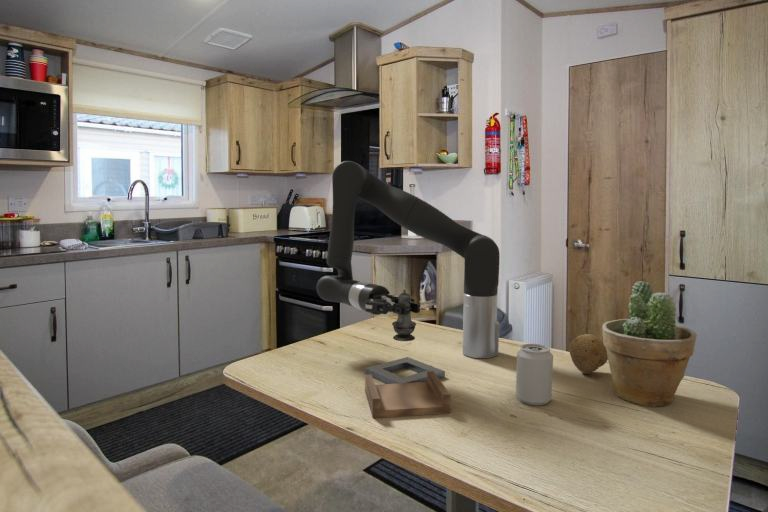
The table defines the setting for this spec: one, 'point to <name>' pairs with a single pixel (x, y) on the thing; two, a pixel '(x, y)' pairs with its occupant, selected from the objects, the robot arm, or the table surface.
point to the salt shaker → (404, 321)
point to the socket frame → (385, 369)
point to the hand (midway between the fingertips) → (412, 309)
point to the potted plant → (648, 349)
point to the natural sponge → (588, 353)
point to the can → (534, 374)
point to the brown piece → (407, 397)
